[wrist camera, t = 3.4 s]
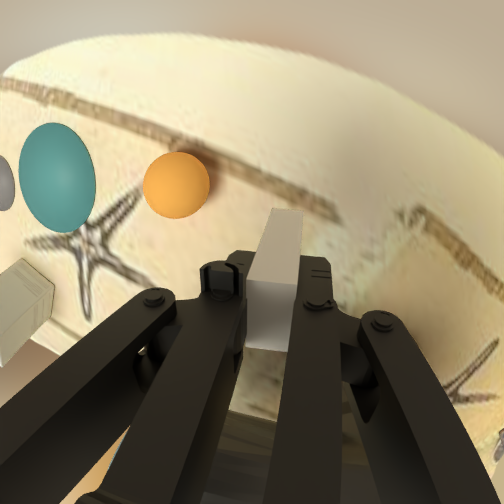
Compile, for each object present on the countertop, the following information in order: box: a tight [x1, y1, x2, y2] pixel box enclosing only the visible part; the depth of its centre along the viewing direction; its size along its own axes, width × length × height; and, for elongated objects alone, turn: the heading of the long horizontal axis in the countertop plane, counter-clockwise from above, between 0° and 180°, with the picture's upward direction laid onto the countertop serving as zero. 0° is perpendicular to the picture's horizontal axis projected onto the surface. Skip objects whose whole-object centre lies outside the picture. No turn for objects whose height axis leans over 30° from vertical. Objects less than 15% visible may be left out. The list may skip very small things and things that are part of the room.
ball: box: [143, 152, 210, 219], centre depth 25 cm, size 6×6×6 cm
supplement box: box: [0, 259, 54, 367], centre depth 33 cm, size 7×7×13 cm
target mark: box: [19, 123, 96, 233], centre depth 30 cm, size 13×13×1 cm
